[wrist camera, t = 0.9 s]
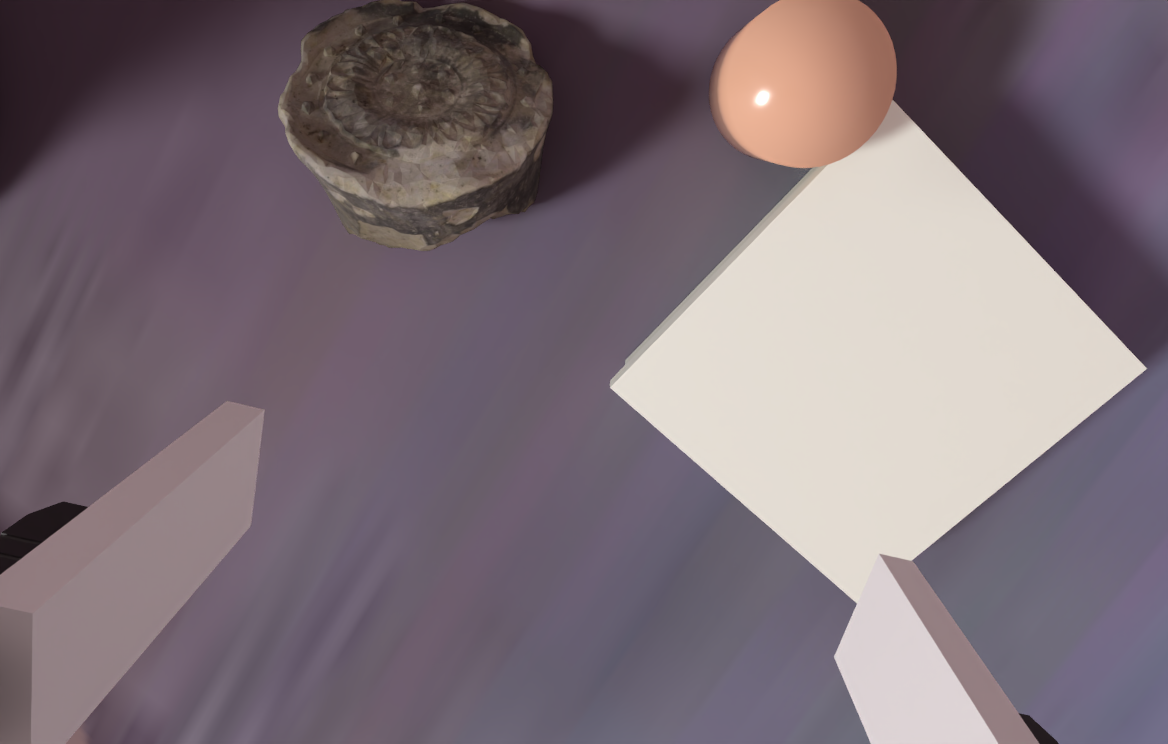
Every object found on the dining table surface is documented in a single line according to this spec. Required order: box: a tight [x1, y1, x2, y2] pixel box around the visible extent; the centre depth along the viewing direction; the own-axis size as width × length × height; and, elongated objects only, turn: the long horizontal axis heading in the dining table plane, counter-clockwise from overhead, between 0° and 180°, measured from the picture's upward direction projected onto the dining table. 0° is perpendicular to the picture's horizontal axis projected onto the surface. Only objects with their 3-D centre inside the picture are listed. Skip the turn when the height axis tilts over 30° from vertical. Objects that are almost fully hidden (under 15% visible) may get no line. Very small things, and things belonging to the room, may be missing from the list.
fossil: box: [278, 0, 553, 251], centre depth 31 cm, size 11×9×10 cm
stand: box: [610, 100, 1147, 603], centre depth 35 cm, size 16×16×4 cm
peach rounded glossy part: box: [709, 0, 897, 168], centre depth 30 cm, size 6×6×6 cm
